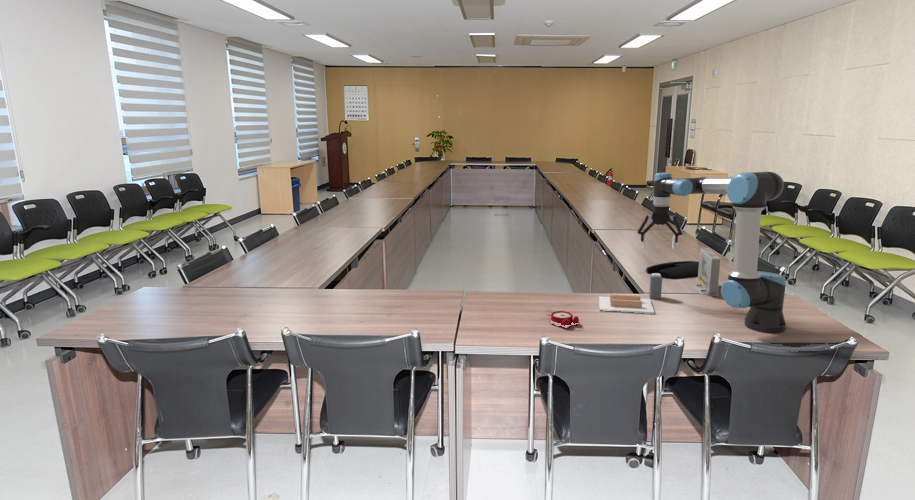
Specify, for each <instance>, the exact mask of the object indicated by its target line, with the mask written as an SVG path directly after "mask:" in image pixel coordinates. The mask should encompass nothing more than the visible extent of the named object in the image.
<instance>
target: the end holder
mask: <svg viewBox="0 0 915 500" xmlns="http://www.w3.org/2000/svg"><path fill="white" fill-rule="evenodd" d="M599 308H600V309H602V310H612V311H622V312H621V313H623V312H634V313H633V314H641V313H644V315H645V314H646V315H655V309H654V307H653V304H652V301H651V299H650V298H641V295H636V294H635V295H632V294H614V293H613V294H612V293H610V294H609V296H600V295H599V296H598V309H599Z"/></svg>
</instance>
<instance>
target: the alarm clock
mask: <svg viewBox="0 0 915 500" xmlns="http://www.w3.org/2000/svg"><path fill="white" fill-rule="evenodd" d="M547 316H549V317H550V319H551V320H552V321H554V322H557V323H561V325H564V326H565V325H571V323H572V322H573V323H574V324H575V323H578V324H576V326H578V325H580V324H581V322H580V320H579V319H580V318H579V317H578V315H577V316H576V315H575V316H573V313H571V312H569V311H564V310H557V311H553V312H551V314H547Z"/></svg>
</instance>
